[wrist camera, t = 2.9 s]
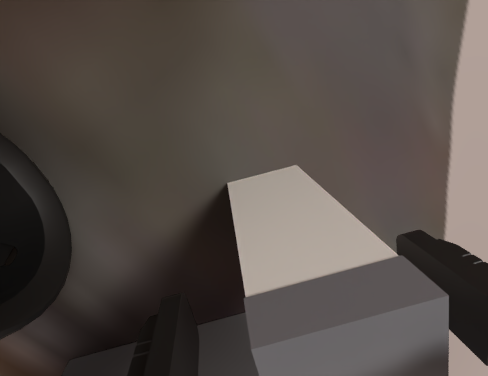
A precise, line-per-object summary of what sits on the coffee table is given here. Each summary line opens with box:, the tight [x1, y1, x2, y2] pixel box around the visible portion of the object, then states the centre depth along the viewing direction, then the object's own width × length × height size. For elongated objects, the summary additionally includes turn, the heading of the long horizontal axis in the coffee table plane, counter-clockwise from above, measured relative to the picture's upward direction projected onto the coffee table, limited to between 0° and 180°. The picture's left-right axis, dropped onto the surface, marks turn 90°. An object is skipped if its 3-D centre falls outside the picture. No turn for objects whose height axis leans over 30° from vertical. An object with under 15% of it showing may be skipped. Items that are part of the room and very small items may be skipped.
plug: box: [227, 165, 449, 376], centre depth 12 cm, size 4×4×11 cm
